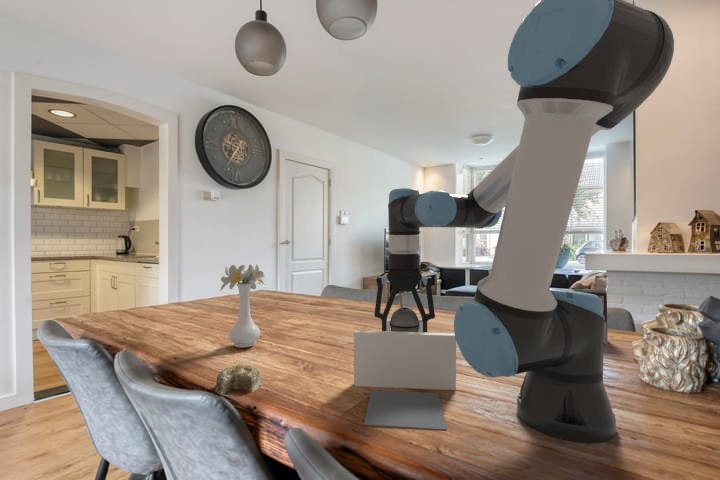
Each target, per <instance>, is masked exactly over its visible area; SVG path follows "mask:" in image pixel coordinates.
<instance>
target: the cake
mask: <svg viewBox="0 0 720 480" xmlns="http://www.w3.org/2000/svg"><path fill="white" fill-rule="evenodd" d="M260 374H261V373H260V369H259V368H257V367H255V366H253V365H247V364H246V365H242V364H238V365H232V366H230V367H225V368H224V369H222V370H220V372H219V373H218V374H217V376H216V383H215V384H216V385H214V392H215V393H216V394H218V395H220V396H223V397H232V395H229V394H226V393H228V392H231V391H232V390H239V389H241V390H245V391H247V392H250V393H253V392H255V391H257V390H260V389H261V388H262V387H263V382H262V381H261V379H260V376H261V375H260ZM236 397H238V394H237V395H236Z"/></svg>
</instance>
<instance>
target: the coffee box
mask: <svg viewBox="0 0 720 480" xmlns="http://www.w3.org/2000/svg"><path fill="white" fill-rule="evenodd" d="M573 291H575V292H582V293H589V294H594V295H596V296H598V297H599V298H600V299H601V300H602V303H603V315H604V317H605V320H604V337H603V345H608V343H609V342H608V293H607V290H606V289H593V288H591V289H590V288H589V289H588V288H574V289H573Z"/></svg>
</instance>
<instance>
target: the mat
mask: <svg viewBox="0 0 720 480" xmlns="http://www.w3.org/2000/svg"><path fill="white" fill-rule="evenodd" d="M364 416H365V417H364V422H363V427H376V428H377V427H378V428H393V429H394V428H395V429H397V428H399V429H412V430H415V429H416V430H432V431H448V428H447V424H446V420H445V415H444V411H443V406H442V402H441V399H440V394H439V392H422V391H421V392H419V391H401V390H400V391H399V390H397V391H396V390H379V389H370V393H369V398H368V402H367V407H366V412H365V415H364Z"/></svg>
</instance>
